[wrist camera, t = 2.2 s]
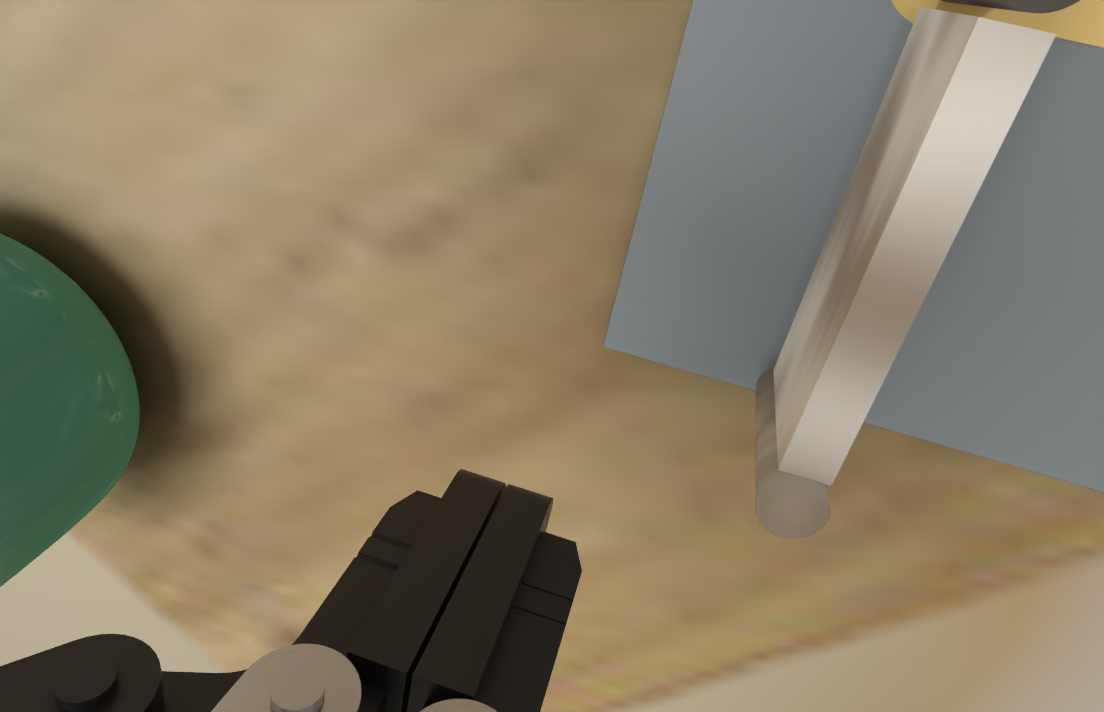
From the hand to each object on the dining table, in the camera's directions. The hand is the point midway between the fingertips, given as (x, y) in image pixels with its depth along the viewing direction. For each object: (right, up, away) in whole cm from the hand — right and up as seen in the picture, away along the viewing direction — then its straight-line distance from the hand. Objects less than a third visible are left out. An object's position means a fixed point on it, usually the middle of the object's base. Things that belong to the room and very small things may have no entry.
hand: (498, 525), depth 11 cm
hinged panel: (+9, +6, +7) cm, 13 cm away
